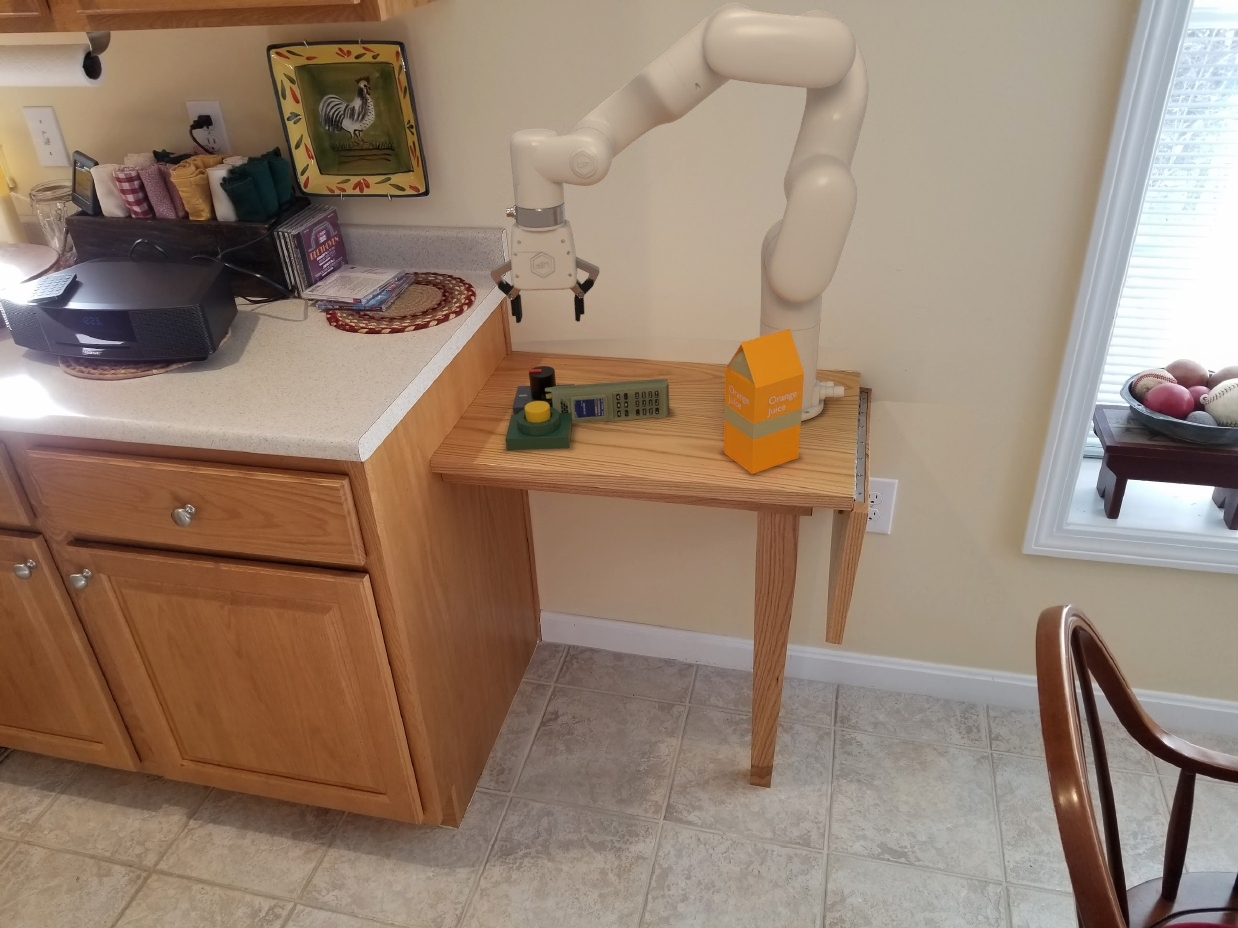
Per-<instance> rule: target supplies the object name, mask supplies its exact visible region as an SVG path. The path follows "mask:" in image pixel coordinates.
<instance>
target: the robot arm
mask: <svg viewBox="0 0 1238 928" xmlns="http://www.w3.org/2000/svg"><path fill="white" fill-rule="evenodd" d="M730 80H734V81H739V82H746V83H753V84H759V85H773V86H782V87H784V86H785V87H792V88H794V87H795V88H805V89H806V98H805V105H804V110H803V114H802V118H801V122H800V128H799V131H798V134H797V137H796V141H795V144H794V147H793V151H792V154H791V157H790V160H789V163H788V166H787V169H786V172H785V175H784V180H783V191H784V196H785V199H786V206H785V210H784V213H783V217H782V218H781V219H779V220H777V221H776V222H775V223H773V224H772V225H771V226H770V227H769V228H768V230H767V231H766V233H765V235H764V237H763V239H762V244H761V250H760V319H759V337H762V336H766V335H769V334H773V333H777V332H780V331H784V330H787V329H790V331H791V334H792V337H793V340H794V344H795V347H796V350H797V353H798V356H799V359H800V362H801V365H802V368H803V371H804V382H803V397H802V418H801V422H803V421H807V420H810V419H813V418H815V417H817V416H818V415H819V414H820V413H821V412H822V411H823V409H824V405H825V403H824V402H825V401H824V400H825V399H826V398H833V399H835V398H836V399H837V398H838V399H839V398H844V397H845V387H844V385H835V384H834V383H835V382H834V381H833V380H832V381H831V380H828V381H827V380H825V381H820V380H819V379H818V378H817V371H818V357H819V346H820V345H819V344H820V332H821V331H820V330H821V321H822V320H821V319H822V307H823V306H822V305H823V294H824V292H825V291H826V290H827V288H828V287H829V286H830V284H831V282H832V280H833V278H834V276H835V274H836V270H837V268H838V265H839V262H840V259H841V257H842V253H843V251H844V247H845V245H846V241H847V238H848V235H849V232H850V229H851V226H852V223H853V220H854V217H855V213H856V207H857V201H858V188H857V183H856V181H855V177H854V175H853V174H852V172H851V171H852V170H851V169H852V163H853V160H854V156H855V152H856V149H857V146H858V142H859V139H860V135H861V131H862V128H863V125H864V120H865V117H866V113H867V112H866V111H867V107H868V100H869V76H868V70H867V65H866V61H865V58H864V55H863V52H862V49H861V46H860V45H859V43H858V41H857V40H856V38H855V36H854V34H853V32H852V30H851V29H850V27H849V26H848V25H847V24H846V23H845V22H844V21H843V20H842V19H841V18H839V17H838V16H837V15H835V14H834V13H833V12H831V11H829V10H825V9H819V8H818V9H817V8H816V9H810V10H807V11H805V12H803V13H801V14H799V15H795V14H794V15H793V14H784V13H776V12H775V13H774V12H767V11H760V10H754V9H753V8H751V6H748V5H747V4H744V3H742V2H738V1H737V2H735V1H734V2H728V3H724V4H722V5H720V6H719V7H717V8H716V9H714V10H713V11H711V12H710V13H709V14H708V15H707V16H705V17H704V19H702V20H701V21H700V22H699V23H697V24H696V25H695V26H694V27H692V28H691V29H689V30H688V31H687V32H686V33H685V34H684V35H683V36H682V37H680V38H679V39H678V40H677V41H675V42H674V43H673V44H672V45H671V46H670V47H668V48H667V49H665V50H664V51H663V52H662V53H661V54H659V56H657V57H656V58H654V59H653V60H652V61H651V62H649V64H647V65H646V66H645V67H643V68H642V69H641V70H640V71H639V72H637V73H636V74H635V75H634V76H633V77H632V78H631V79H630V80H629V81H627V82H626V83H625V84H624V85H622V86H621V87H619V88H618V89H617V90H616V91H614V92H613V93H612V94H611V95H609V96H608V97H607V98H605V99H604V100H603V101H602V102H601V103H599V104H598V105H597V106H596V107H595V108H593V109H592V110H591V111H589V112H588V114H586V115H585V116H584V117H583V118H581V119H580V120H579V121H578V122H577V123H576V124H575V125H574V126H573V127H572V128H571V130H570V131H569V132H568V134H565V135H559V134H558V133H557V132H556V131H555V130H553V129H550V128H545V127H533V128H525V129H520V130H517V131H515V132H514V133H512V135H511V136H510V139H509V153H510V164H511V174H512V175H511V176H512V184H513V185H512V186H513V196H514V205H513V206H511V207H506V208H505V214H506V218H512V219H514V220H515V222H514V223H513V224H512V226H511V231H510V259H509V260H506V261H505V262H503V263H502V264H500V265H497V267H495V268H492V269H491V271H490V277H491V278H492V280H493V282H494V283H495V284H496V286H497V288H498V290H500V291H501V292H502V293H503V294H504V295H505V296H506V297H507V299H508V300H509V301H510V312H511V317H515V323H516V324H520V323H521V322H522V321H523V320H522V319H523V307H522V306H523V305H522V296H521V294H520V292H521V291H563V290H571V292H572V293H574V297H573V305H574V317H575V318H574V320H575V321H576V322H581V315H583V316H584V315H585V296H586V294H587V293H589V291H590V290H591V289H592V288H593V287H594V286H595V283H596V281H597V279H598V277H599V275H600V272H601V268H600V267H599V266H598V265H595V264H593V263H592V262H589V261H587V260H585V259H583V258H580V257H578V256H577V252H576V245H575V239H574V233H573V229H572V226H571V222H570V220H568V219H566V209H565V208H566V203H565V192H564V191H565V190H564V184H565V185H566V184H567V185H573V186H581V187H588V186H594V185H597V184H599V183H600V182H602V181H603V180H604V179H605V178H606V177H607V176H608V173H609V172H610V169H611V165H612V163H613V159H615V157H617V156H618V155H619V154H620V153H621V152H622V151H624V150H625V149H626V148H627V147H629V146H630V145H632V144H633V143H634V142H635V141H636V140H638V139H639V138H640V137H642V136H643V135H645V134H646V133H648V132H649V131H651V130H653V129H655V128H657V127H659V126H662V125H666V124H671V123H674V122H677V121H678V120H680V119H682V118H683V117H684V116H686V115H687V114H688V113H690V112H691V111H692V110H693V109H695V108H696V107H697V106H698V105H700V104H701V103H702V102H703V101H704V100H706V99H708V97H710V96H711V95H713V94H714V93H715V92H716V91H718V89H720V88H721V87H722V86H723V85H724V86H725V84H727V83H728V82H730ZM578 269H579V270H581V271H583V272H585V273H587V274H588V276H587V278H586V279H585V280H584V281H583V282H581V281H580V279H578ZM508 272H511V278H512V285H511V284H510V283H509V282H508V281H506V279H504V276H503V275H505V274H506V273H508Z"/></svg>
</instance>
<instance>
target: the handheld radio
mask: <svg viewBox="0 0 1238 928" xmlns="http://www.w3.org/2000/svg"><path fill="white" fill-rule="evenodd" d="M669 387H670V386H669V380H668V378H656V379H655V378H654V379H642V380H639V379H638V380H626V381H614V382H613V381H612V382H599V383H584V384H574V385H569V386H555V387H549V388H545V391H546V392H551V393H552V394H550V393H548V394H546V399H549V398H551V399H552V402H551V403H548V404H549V405H550V407H553V408H555V409H556V410H558V411H559V412H560V413H571V416H572V424H580V423H595V422H596V423H597V422H610V421H623V420H634V419H647V418H658V417H660V418H667V417H670V396H669V395H670V390H669ZM551 405H552V406H551Z"/></svg>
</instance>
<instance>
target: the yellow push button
mask: <svg viewBox="0 0 1238 928" xmlns="http://www.w3.org/2000/svg"><path fill="white" fill-rule="evenodd" d="M525 415H526V420H527V421H528V422H532V423H536V422H544V421H547V420H549V419H550V417H551V415H550V405H549V404H548V403H547V402H544V401H534V402H530V403H528V404H527V405H526V406H525Z"/></svg>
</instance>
